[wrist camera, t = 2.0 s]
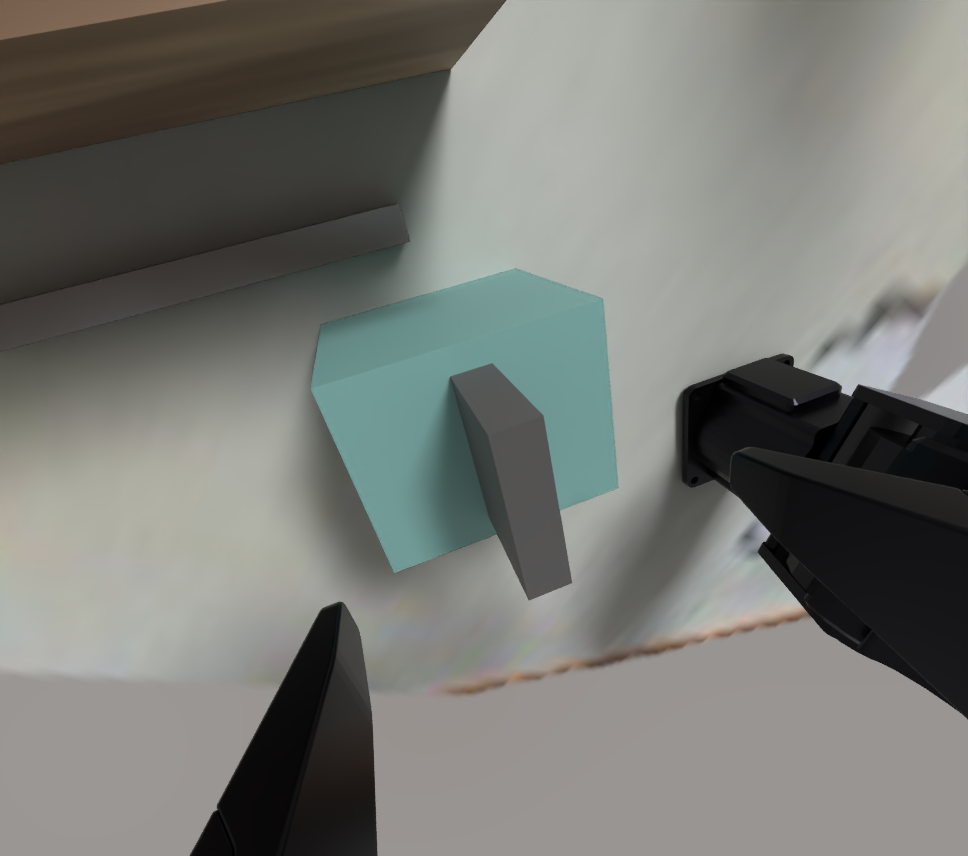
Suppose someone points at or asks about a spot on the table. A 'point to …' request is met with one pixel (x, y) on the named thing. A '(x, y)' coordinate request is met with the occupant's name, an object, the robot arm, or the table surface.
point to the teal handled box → (473, 418)
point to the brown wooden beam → (202, 113)
